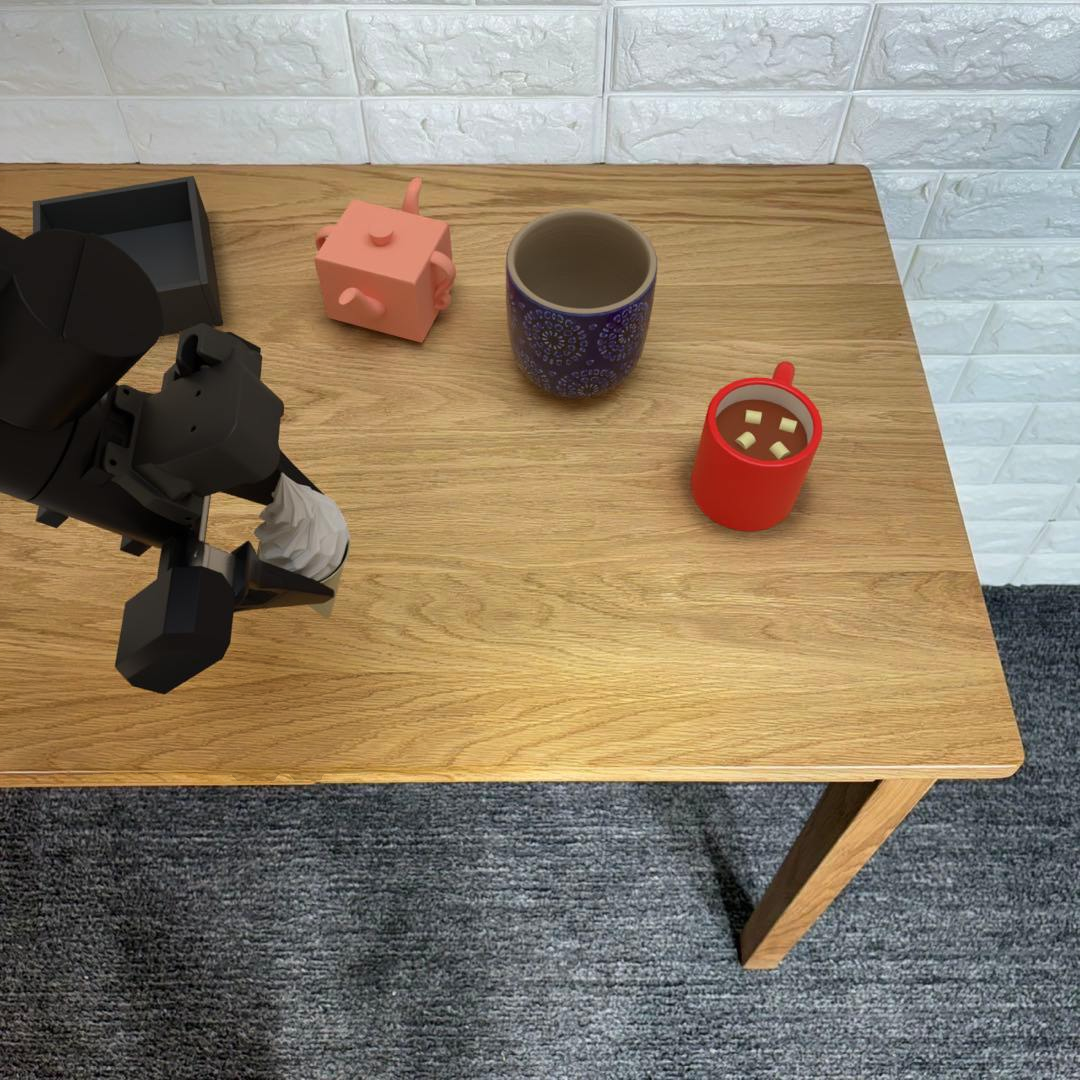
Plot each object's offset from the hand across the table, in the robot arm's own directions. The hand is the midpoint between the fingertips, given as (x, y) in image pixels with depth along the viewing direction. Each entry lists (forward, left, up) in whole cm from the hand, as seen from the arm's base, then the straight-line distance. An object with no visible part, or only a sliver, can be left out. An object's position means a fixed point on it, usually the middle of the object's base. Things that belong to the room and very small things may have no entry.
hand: (332, 555), depth 55 cm
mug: (+31, +8, -13) cm, 35 cm away
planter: (+21, +21, -13) cm, 33 cm away
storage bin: (-13, +39, -13) cm, 43 cm away
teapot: (+8, +31, -13) cm, 35 cm away
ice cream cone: (-1, 0, -7) cm, 7 cm away
